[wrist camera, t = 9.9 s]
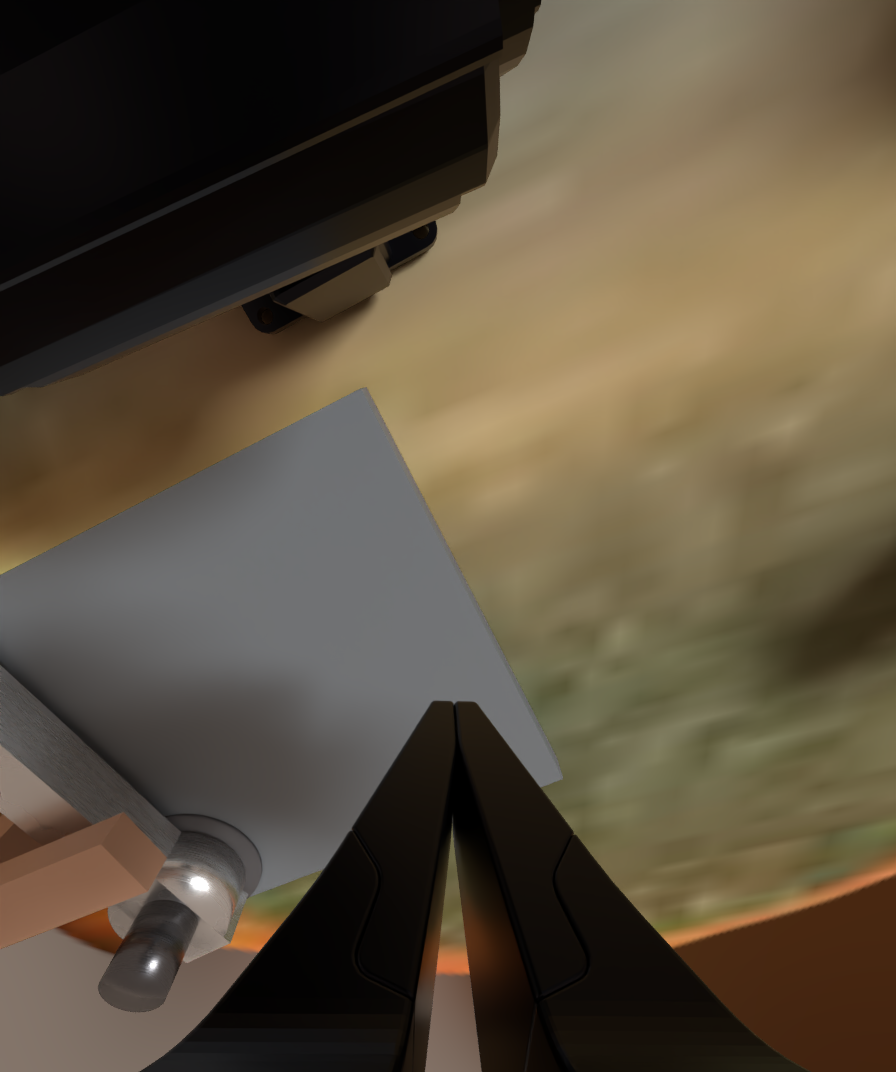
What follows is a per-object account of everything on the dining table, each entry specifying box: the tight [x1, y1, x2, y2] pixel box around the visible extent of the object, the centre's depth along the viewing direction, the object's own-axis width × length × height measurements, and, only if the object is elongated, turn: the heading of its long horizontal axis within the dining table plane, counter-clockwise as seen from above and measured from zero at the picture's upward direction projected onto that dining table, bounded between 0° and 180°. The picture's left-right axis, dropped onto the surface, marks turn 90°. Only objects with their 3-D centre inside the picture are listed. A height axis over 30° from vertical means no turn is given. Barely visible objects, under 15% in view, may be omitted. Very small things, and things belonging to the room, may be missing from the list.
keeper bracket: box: [0, 812, 167, 949], centre depth 19 cm, size 2×10×6 cm, turn 116°
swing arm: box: [0, 665, 248, 1012], centre depth 17 cm, size 17×5×5 cm, turn 31°
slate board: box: [0, 387, 563, 898], centre depth 20 cm, size 18×20×1 cm
